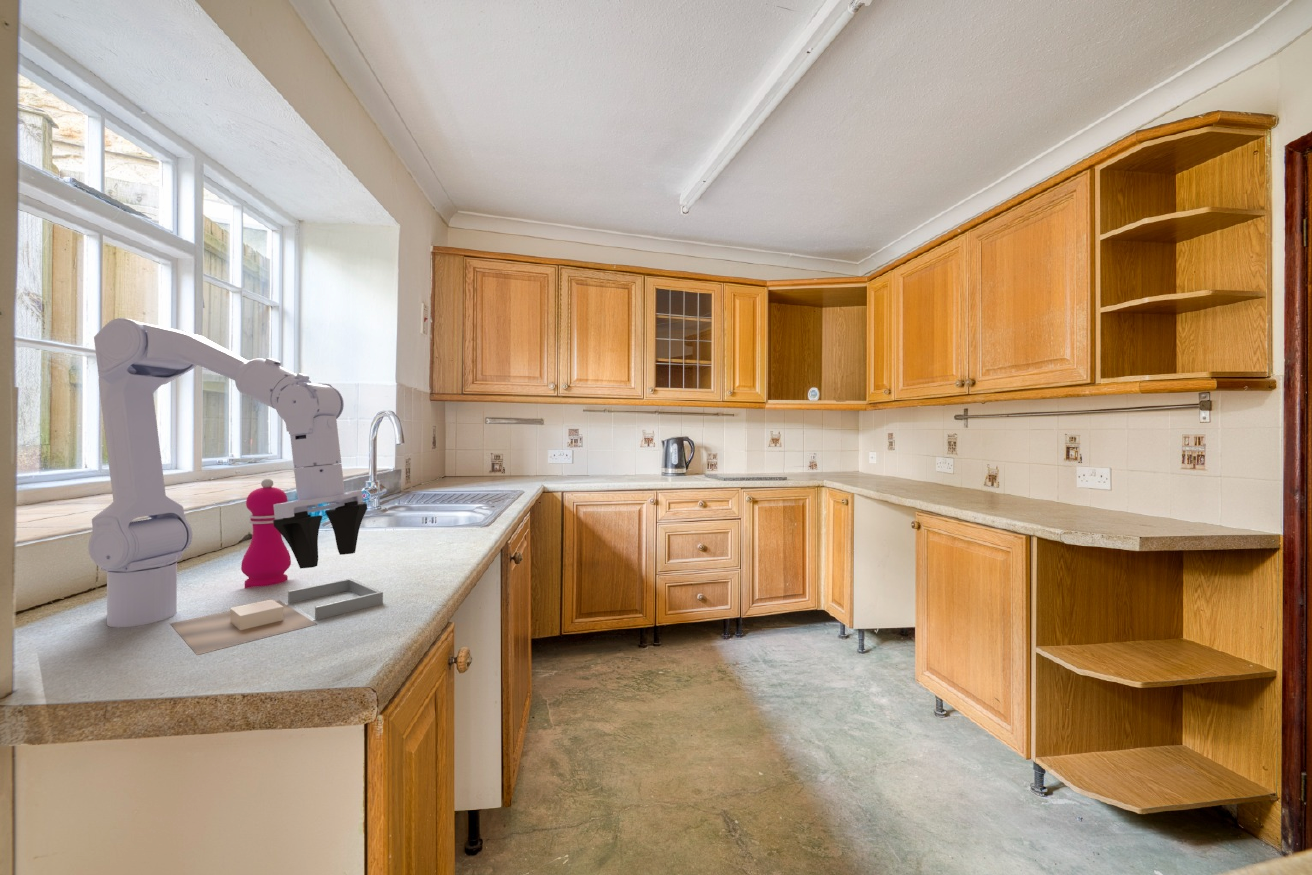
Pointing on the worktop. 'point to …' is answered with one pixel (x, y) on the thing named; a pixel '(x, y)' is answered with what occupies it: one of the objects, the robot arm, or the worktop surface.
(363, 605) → the box
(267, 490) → the pepper mill
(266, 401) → the robot arm
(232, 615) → the tile
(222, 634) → the board
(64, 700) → the worktop surface
